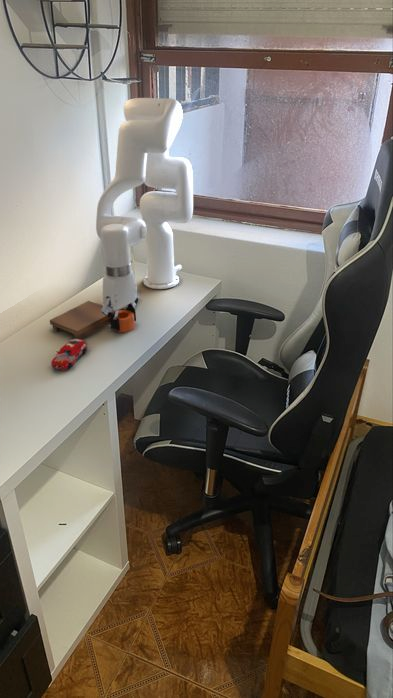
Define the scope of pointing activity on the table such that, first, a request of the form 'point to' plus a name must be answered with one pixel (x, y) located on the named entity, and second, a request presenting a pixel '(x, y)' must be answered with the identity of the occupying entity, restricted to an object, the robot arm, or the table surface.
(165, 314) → the table surface
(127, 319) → the ring
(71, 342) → the race car
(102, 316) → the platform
